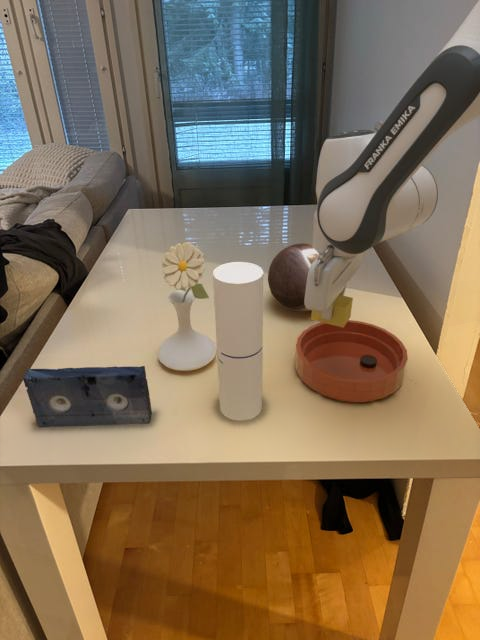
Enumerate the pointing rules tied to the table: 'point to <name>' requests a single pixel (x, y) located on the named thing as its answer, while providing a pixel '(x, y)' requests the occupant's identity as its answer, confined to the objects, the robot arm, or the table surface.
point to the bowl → (350, 361)
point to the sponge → (337, 312)
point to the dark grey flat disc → (368, 361)
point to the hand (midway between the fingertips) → (331, 310)
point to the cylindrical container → (239, 338)
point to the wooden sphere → (291, 275)
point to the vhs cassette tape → (89, 396)
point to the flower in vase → (185, 310)
